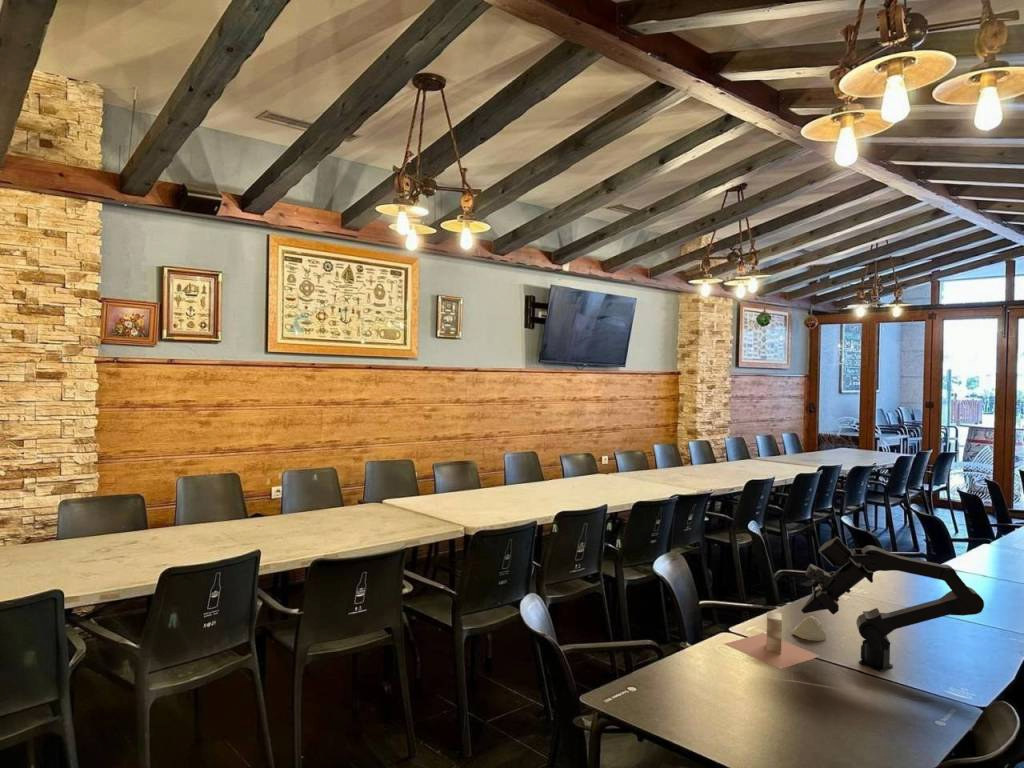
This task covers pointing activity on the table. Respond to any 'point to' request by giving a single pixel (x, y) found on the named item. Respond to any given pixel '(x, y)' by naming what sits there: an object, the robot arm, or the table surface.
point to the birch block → (774, 632)
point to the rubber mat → (757, 649)
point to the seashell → (810, 629)
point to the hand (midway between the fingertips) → (802, 611)
